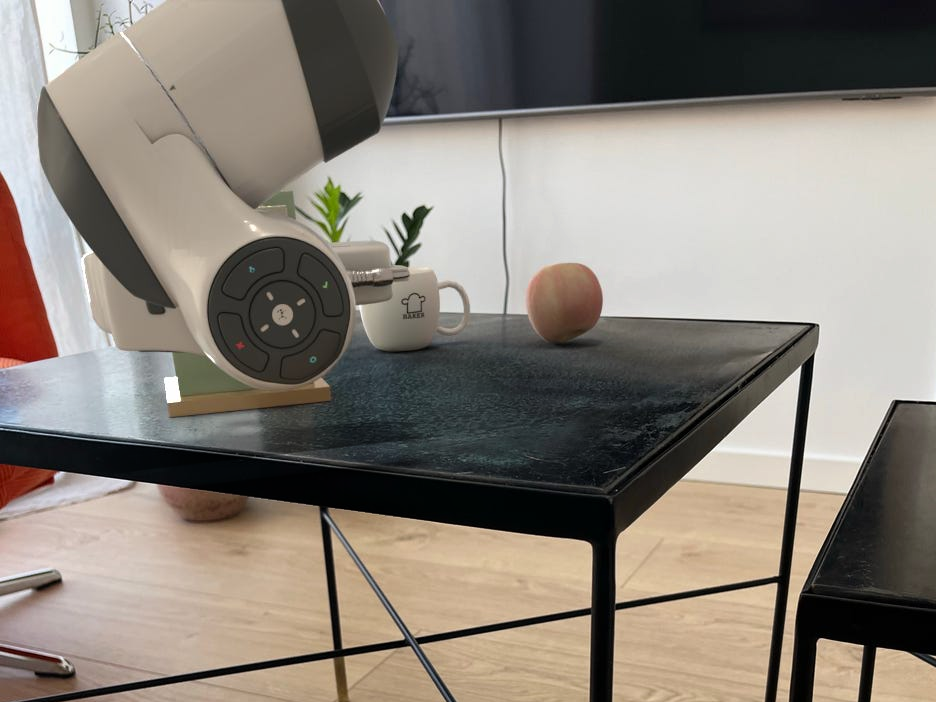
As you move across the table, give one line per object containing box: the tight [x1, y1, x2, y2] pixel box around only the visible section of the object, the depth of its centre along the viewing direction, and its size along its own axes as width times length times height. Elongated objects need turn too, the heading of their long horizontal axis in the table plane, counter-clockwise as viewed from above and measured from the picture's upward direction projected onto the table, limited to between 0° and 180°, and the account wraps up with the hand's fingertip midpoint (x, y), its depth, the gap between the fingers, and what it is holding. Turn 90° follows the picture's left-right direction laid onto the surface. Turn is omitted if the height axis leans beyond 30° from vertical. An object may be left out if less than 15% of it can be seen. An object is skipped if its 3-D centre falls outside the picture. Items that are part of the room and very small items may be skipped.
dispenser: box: [164, 189, 332, 418], centre depth 84 cm, size 13×13×16 cm
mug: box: [359, 266, 471, 352], centre depth 107 cm, size 12×8×8 cm
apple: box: [525, 262, 604, 345], centre depth 105 cm, size 8×8×8 cm
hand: (235, 271), depth 74 cm, fingers closed
